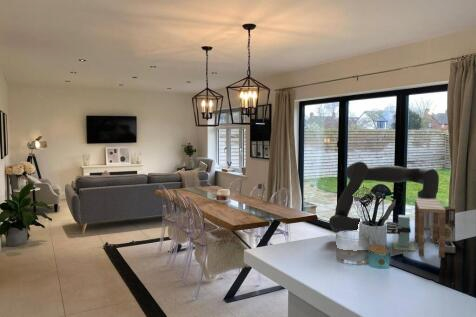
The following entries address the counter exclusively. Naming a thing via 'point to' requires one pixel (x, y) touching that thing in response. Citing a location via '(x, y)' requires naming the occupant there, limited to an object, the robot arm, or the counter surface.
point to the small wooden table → (436, 208)
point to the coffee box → (446, 224)
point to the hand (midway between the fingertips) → (410, 229)
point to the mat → (411, 247)
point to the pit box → (449, 247)
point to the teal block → (402, 237)
